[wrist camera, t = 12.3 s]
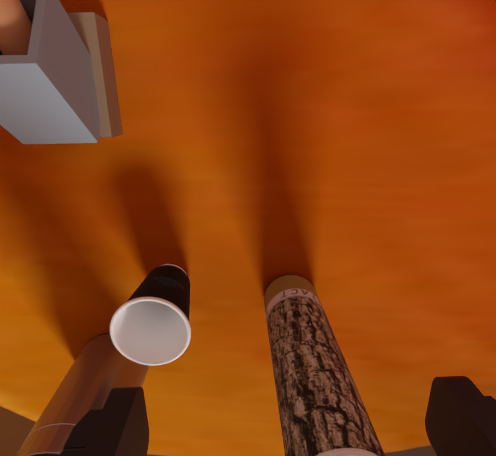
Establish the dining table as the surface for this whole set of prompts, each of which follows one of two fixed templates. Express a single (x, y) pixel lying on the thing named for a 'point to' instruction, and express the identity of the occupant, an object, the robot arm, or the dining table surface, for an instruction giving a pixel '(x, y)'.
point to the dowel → (14, 28)
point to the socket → (60, 79)
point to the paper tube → (313, 377)
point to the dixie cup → (155, 318)
